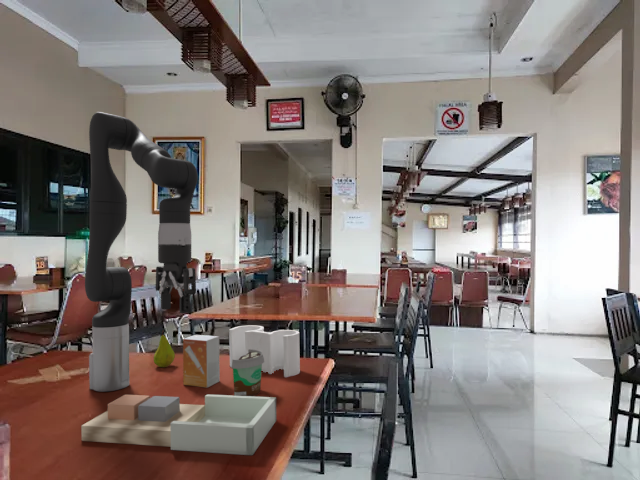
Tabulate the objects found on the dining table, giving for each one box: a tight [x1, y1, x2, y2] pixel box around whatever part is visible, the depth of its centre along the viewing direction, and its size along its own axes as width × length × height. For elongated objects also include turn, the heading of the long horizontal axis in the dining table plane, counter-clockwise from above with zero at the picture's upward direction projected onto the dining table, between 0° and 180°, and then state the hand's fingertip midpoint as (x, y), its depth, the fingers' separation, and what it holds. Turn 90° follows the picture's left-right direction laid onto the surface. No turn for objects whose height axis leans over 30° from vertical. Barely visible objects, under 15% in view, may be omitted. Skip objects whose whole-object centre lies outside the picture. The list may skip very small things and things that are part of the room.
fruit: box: [153, 330, 176, 368], centre depth 143 cm, size 6×6×12 cm
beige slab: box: [80, 403, 205, 448], centre depth 94 cm, size 20×14×3 cm
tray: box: [170, 394, 277, 456], centre depth 90 cm, size 16×16×5 cm
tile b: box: [138, 395, 181, 422], centre depth 93 cm, size 6×6×3 cm
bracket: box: [228, 324, 301, 378], centre depth 139 cm, size 25×10×12 cm, turn 55°
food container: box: [231, 349, 264, 397], centre depth 116 cm, size 12×6×10 cm, turn 168°
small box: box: [182, 334, 221, 389], centre depth 124 cm, size 8×6×13 cm
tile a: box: [107, 394, 151, 420], centre depth 94 cm, size 6×6×3 cm
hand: (175, 311), depth 105 cm, fingers open, 8 cm apart
